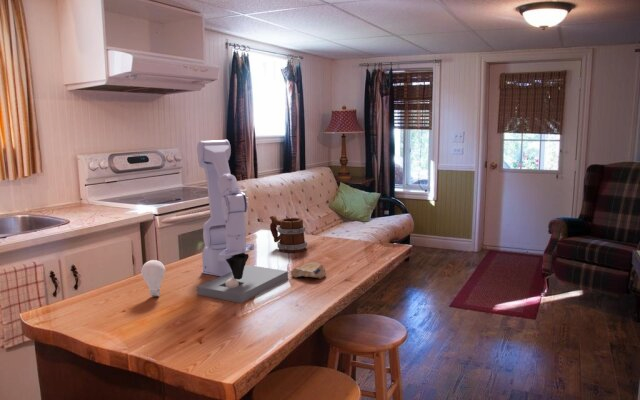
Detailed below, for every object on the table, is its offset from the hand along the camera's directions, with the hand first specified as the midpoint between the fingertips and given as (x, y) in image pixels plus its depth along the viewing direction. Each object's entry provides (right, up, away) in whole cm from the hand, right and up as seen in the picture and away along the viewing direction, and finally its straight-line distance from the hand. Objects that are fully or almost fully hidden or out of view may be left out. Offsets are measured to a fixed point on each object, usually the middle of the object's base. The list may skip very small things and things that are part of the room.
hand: (238, 278), depth 153 cm
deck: (+2, -3, +3) cm, 5 cm away
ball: (-2, -2, -1) cm, 3 cm away
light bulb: (-23, -5, -4) cm, 24 cm away
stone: (+21, -2, +12) cm, 24 cm away
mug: (+12, +4, +46) cm, 48 cm away
